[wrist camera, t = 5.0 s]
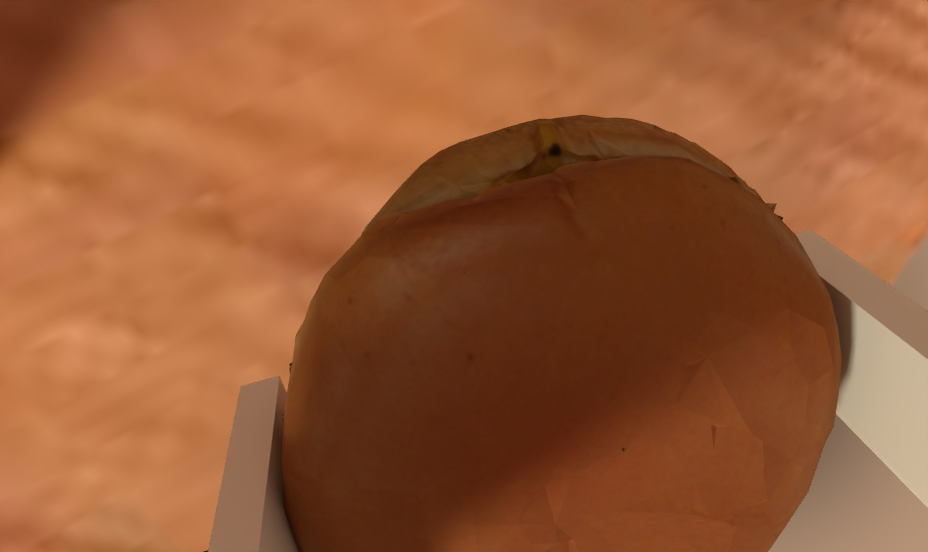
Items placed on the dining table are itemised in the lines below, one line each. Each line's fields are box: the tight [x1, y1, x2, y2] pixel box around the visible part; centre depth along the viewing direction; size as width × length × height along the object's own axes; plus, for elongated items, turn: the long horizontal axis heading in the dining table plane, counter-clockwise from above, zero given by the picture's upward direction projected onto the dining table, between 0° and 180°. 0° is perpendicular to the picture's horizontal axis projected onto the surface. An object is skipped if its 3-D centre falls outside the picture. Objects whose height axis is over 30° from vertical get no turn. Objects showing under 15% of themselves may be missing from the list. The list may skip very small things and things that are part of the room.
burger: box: [282, 115, 842, 552], centre depth 14 cm, size 10×9×5 cm
